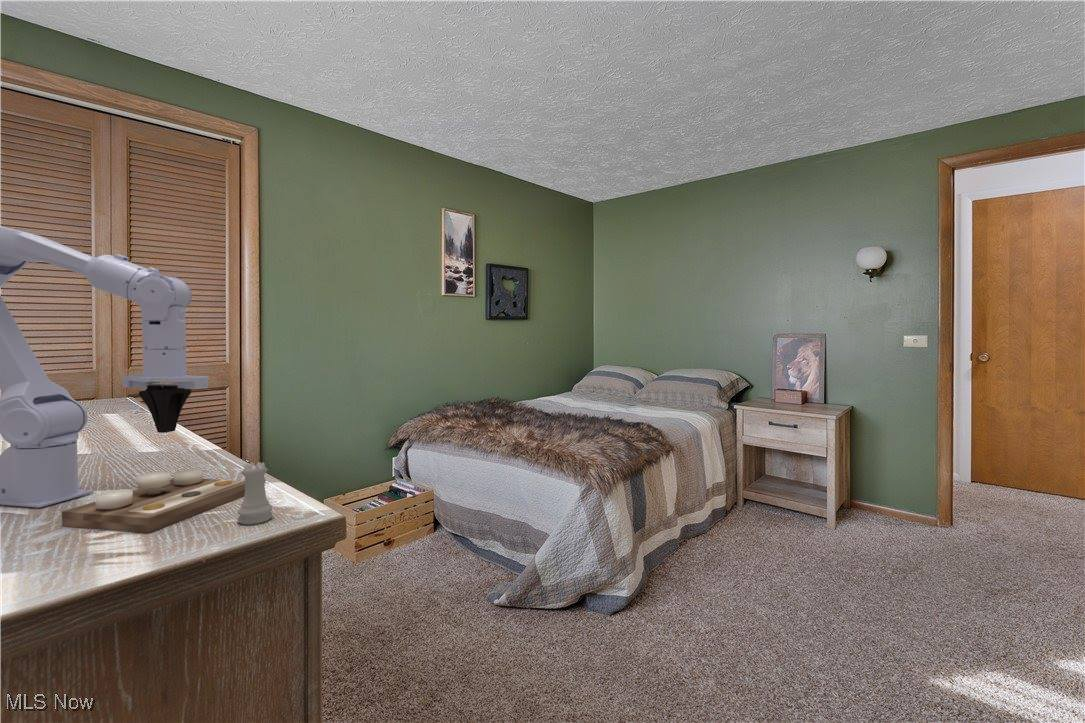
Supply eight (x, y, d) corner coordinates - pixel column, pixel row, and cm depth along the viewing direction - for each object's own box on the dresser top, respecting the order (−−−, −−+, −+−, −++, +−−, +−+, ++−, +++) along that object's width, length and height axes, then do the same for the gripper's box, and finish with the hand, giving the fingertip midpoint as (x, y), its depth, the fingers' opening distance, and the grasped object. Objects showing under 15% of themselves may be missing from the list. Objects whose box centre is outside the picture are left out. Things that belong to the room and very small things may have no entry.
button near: (87, 516, 69) (87, 496, 69) (117, 507, 73) (116, 488, 73) (112, 518, 69) (111, 498, 69) (140, 509, 73) (140, 490, 72)
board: (62, 525, 69) (61, 507, 69) (178, 488, 87) (178, 474, 87) (149, 533, 66) (148, 514, 66) (250, 493, 84) (250, 478, 84)
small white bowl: (167, 491, 81) (166, 474, 81) (188, 484, 85) (188, 468, 85) (188, 493, 80) (188, 475, 80) (209, 486, 84) (208, 469, 84)
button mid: (130, 496, 75) (130, 477, 75) (155, 488, 79) (154, 470, 79) (153, 497, 75) (152, 478, 74) (177, 489, 78) (176, 472, 78)
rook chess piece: (257, 527, 69) (256, 469, 69) (229, 524, 70) (228, 467, 70) (280, 516, 73) (279, 461, 73) (253, 513, 74) (253, 459, 74)
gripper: (102, 349, 80) (104, 434, 80) (181, 349, 77) (183, 437, 78) (144, 348, 87) (146, 427, 87) (218, 349, 84) (219, 430, 85)
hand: (166, 431), depth 83 cm, fingers closed
